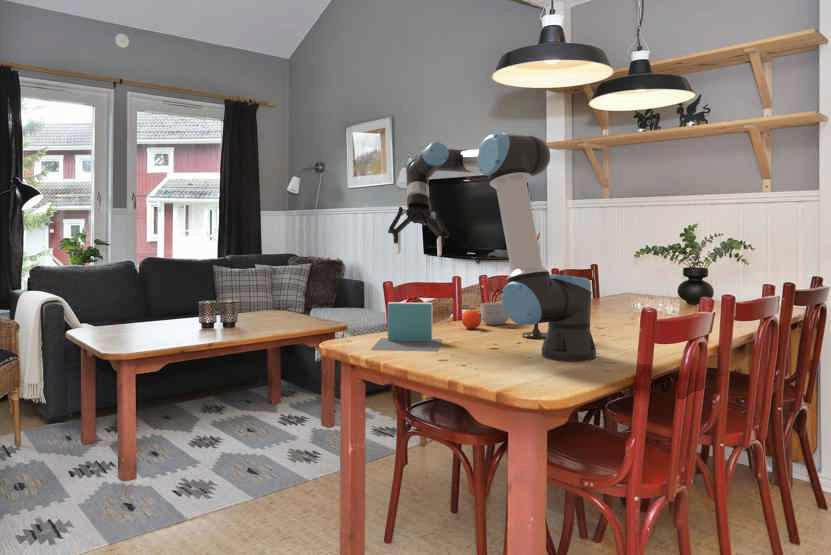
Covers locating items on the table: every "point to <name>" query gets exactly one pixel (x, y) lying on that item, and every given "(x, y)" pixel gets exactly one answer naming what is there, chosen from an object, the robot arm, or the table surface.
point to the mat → (407, 345)
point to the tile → (409, 321)
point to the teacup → (493, 313)
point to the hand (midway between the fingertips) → (419, 253)
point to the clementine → (471, 319)
